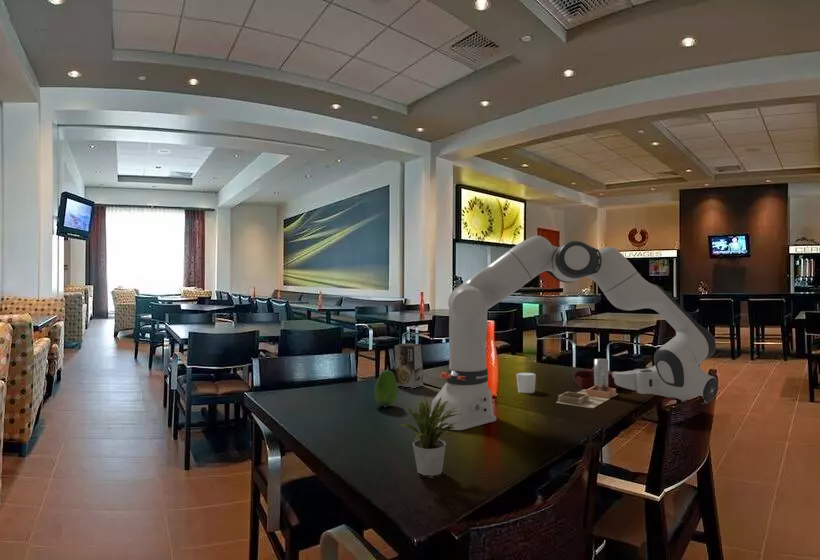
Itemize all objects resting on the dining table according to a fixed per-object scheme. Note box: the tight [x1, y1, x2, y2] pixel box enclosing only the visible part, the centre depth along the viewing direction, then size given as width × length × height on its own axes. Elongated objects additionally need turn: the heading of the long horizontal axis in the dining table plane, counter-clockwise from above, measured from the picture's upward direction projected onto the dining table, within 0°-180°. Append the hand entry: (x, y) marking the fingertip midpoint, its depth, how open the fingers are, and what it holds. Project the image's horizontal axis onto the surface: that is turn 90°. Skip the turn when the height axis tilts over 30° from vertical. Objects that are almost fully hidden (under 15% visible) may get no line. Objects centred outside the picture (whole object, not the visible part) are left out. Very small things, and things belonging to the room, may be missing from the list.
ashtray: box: [572, 369, 622, 390], centre depth 187 cm, size 18×16×5 cm
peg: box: [593, 358, 609, 392], centre depth 172 cm, size 4×4×12 cm
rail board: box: [555, 389, 619, 409], centre depth 168 cm, size 24×12×3 cm, turn 140°
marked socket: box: [586, 386, 617, 400], centre depth 172 cm, size 7×7×2 cm
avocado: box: [373, 369, 399, 407], centre depth 163 cm, size 8×8×12 cm
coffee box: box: [394, 342, 424, 389], centre depth 194 cm, size 9×6×16 cm
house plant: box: [400, 396, 464, 476], centre depth 106 cm, size 14×14×16 cm
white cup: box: [515, 371, 537, 394], centre depth 179 cm, size 7×7×7 cm
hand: (624, 372), depth 163 cm, fingers open, 8 cm apart
